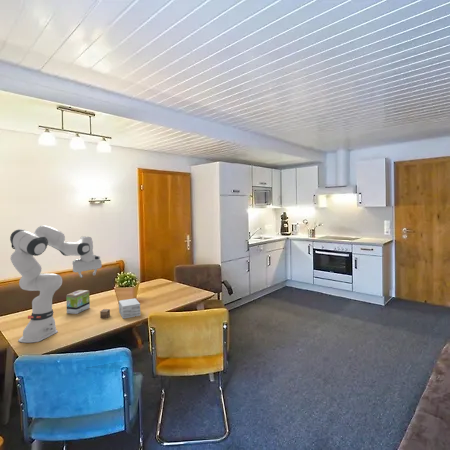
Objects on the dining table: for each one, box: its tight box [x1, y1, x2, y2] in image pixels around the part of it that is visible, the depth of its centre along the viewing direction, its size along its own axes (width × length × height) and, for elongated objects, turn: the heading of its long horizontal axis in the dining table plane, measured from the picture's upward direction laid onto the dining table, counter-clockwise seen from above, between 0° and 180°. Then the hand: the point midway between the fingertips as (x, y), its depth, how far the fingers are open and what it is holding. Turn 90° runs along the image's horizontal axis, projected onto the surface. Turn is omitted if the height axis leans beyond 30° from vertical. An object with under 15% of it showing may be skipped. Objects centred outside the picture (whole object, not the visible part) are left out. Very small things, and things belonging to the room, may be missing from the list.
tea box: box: [65, 289, 91, 315], centre depth 237 cm, size 15×10×15 cm
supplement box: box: [118, 297, 141, 319], centre depth 228 cm, size 17×13×9 cm
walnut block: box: [99, 308, 111, 319], centre depth 223 cm, size 5×5×5 cm
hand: (87, 276), depth 223 cm, fingers open, 8 cm apart
